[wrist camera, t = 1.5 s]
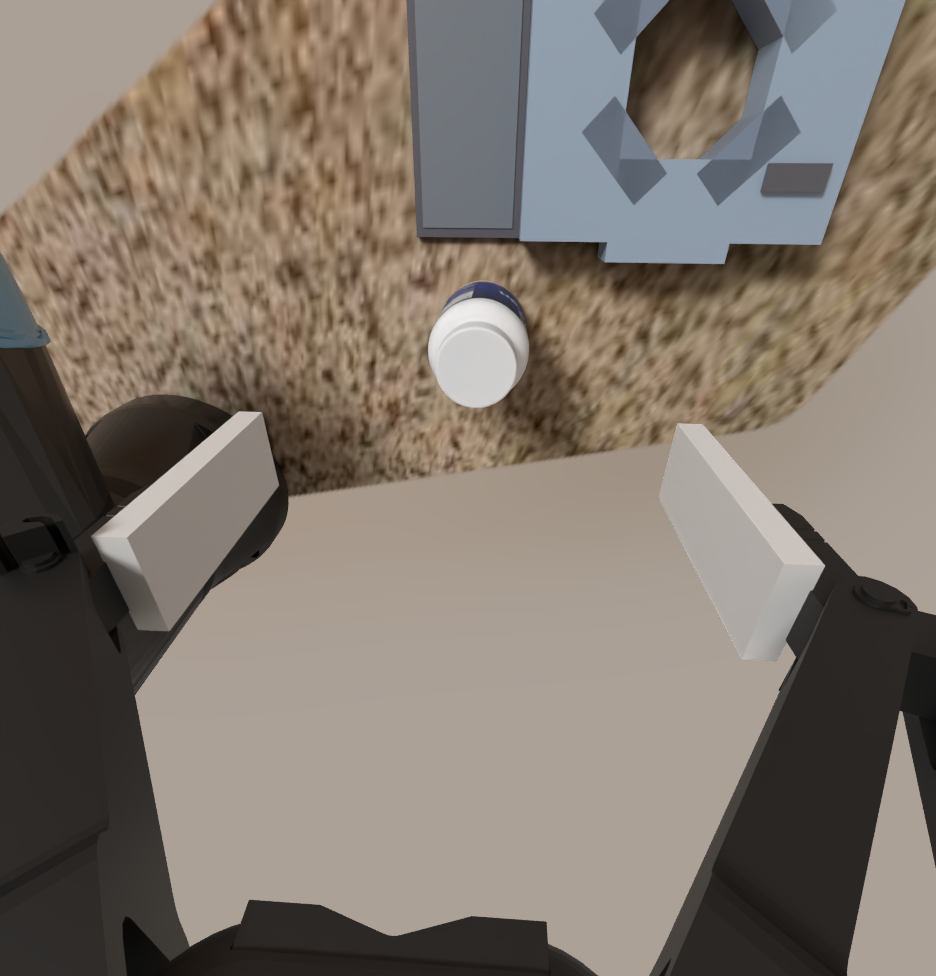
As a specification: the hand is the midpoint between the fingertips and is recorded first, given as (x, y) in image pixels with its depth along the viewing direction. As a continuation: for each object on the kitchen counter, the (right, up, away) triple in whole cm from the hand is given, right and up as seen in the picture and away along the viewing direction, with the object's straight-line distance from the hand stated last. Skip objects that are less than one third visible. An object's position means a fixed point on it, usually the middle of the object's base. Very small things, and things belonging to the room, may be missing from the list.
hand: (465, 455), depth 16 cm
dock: (+11, +19, +9) cm, 24 cm away
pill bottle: (+1, +10, +16) cm, 19 cm away
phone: (0, +19, +11) cm, 22 cm away
